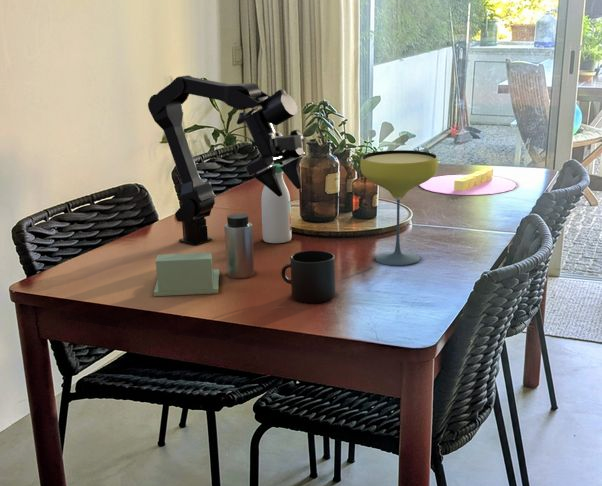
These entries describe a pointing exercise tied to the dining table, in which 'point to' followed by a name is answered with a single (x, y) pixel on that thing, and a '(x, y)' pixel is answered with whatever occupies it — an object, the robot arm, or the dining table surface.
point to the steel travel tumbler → (239, 246)
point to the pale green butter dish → (186, 274)
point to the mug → (311, 276)
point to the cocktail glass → (398, 185)
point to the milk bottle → (276, 212)
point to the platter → (469, 184)
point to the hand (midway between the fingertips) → (290, 192)
